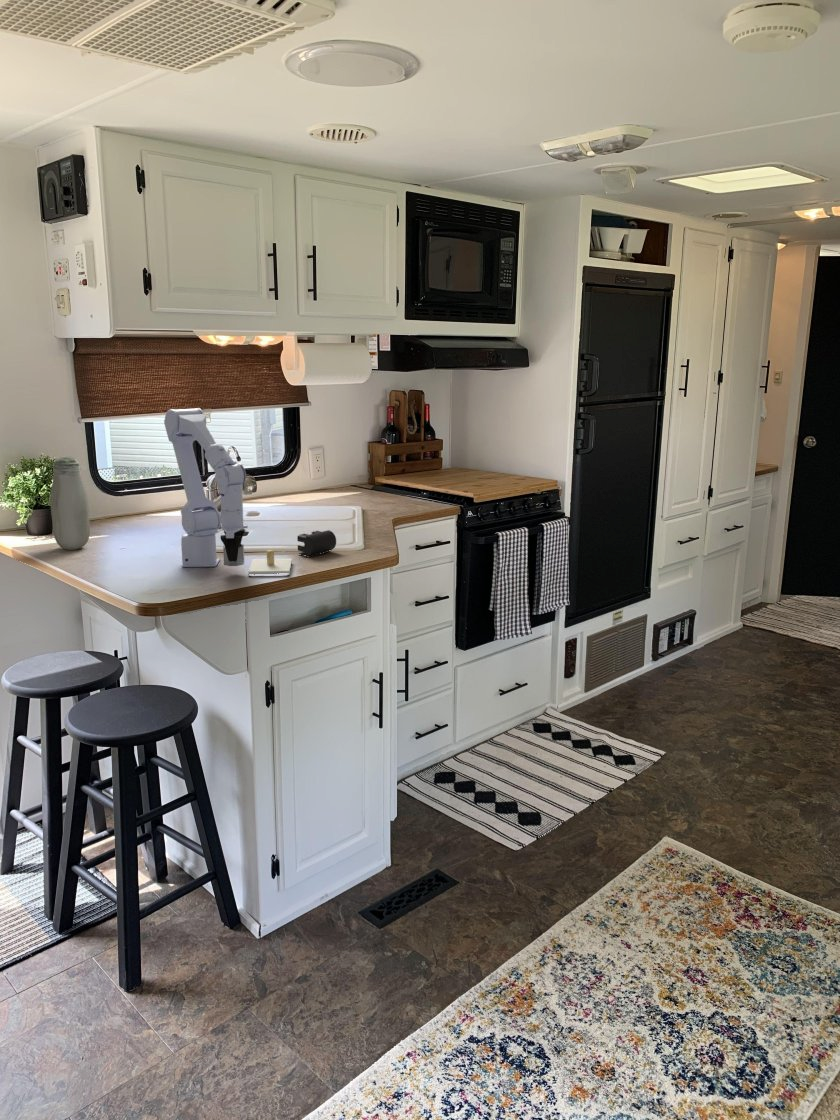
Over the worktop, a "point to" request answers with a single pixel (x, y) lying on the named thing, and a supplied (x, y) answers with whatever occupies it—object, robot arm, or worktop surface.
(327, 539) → the black cylinder
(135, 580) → the worktop surface
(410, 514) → the worktop surface
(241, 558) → the sleeve
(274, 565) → the board
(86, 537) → the grey bottle
